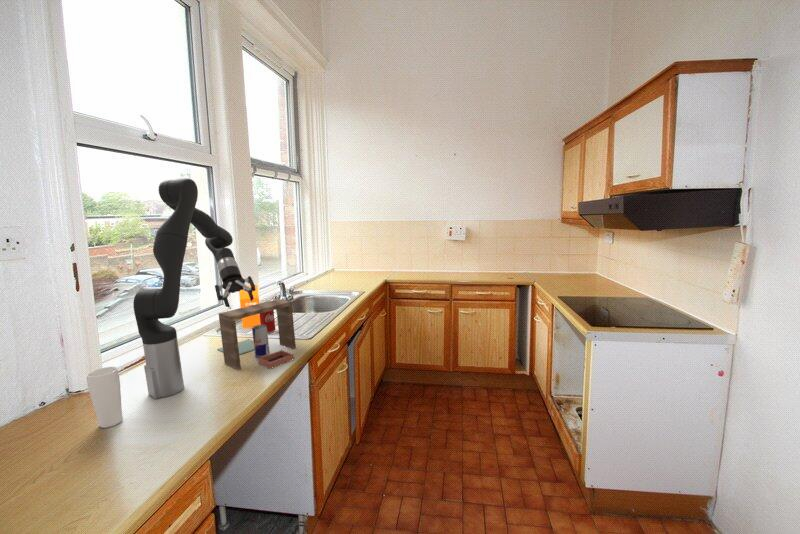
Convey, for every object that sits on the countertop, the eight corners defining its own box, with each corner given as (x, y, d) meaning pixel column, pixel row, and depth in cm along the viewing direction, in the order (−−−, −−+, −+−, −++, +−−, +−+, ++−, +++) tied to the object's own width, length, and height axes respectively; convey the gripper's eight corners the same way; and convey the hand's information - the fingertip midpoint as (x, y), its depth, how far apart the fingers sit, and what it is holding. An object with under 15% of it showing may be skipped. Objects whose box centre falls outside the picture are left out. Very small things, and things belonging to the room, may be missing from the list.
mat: (233, 357, 151) (233, 356, 150) (217, 349, 159) (216, 349, 159) (266, 346, 161) (266, 345, 161) (248, 340, 170) (248, 339, 170)
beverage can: (271, 334, 176) (268, 309, 174) (258, 334, 177) (256, 309, 175) (278, 330, 182) (275, 305, 180) (266, 330, 183) (263, 305, 181)
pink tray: (270, 368, 138) (269, 363, 137) (258, 363, 143) (257, 358, 142) (294, 359, 145) (293, 354, 145) (281, 355, 150) (281, 350, 150)
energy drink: (252, 357, 149) (248, 327, 147) (262, 352, 154) (259, 323, 152) (262, 359, 147) (258, 329, 145) (272, 354, 151) (269, 325, 149)
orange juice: (262, 325, 191) (257, 286, 187) (242, 328, 187) (238, 288, 184) (261, 321, 198) (257, 283, 195) (242, 324, 195) (238, 285, 192)
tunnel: (236, 369, 138) (230, 317, 135) (224, 364, 144) (218, 313, 141) (295, 348, 157) (291, 301, 154) (283, 344, 163) (278, 298, 160)
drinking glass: (121, 414, 111) (113, 364, 108) (129, 421, 106) (121, 370, 104) (92, 425, 105) (83, 373, 103) (99, 433, 101) (89, 379, 99)
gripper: (208, 270, 151) (219, 304, 144) (246, 260, 158) (258, 292, 150) (212, 280, 157) (222, 313, 150) (248, 271, 163) (259, 302, 156)
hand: (240, 303), depth 150 cm, fingers open, 8 cm apart
